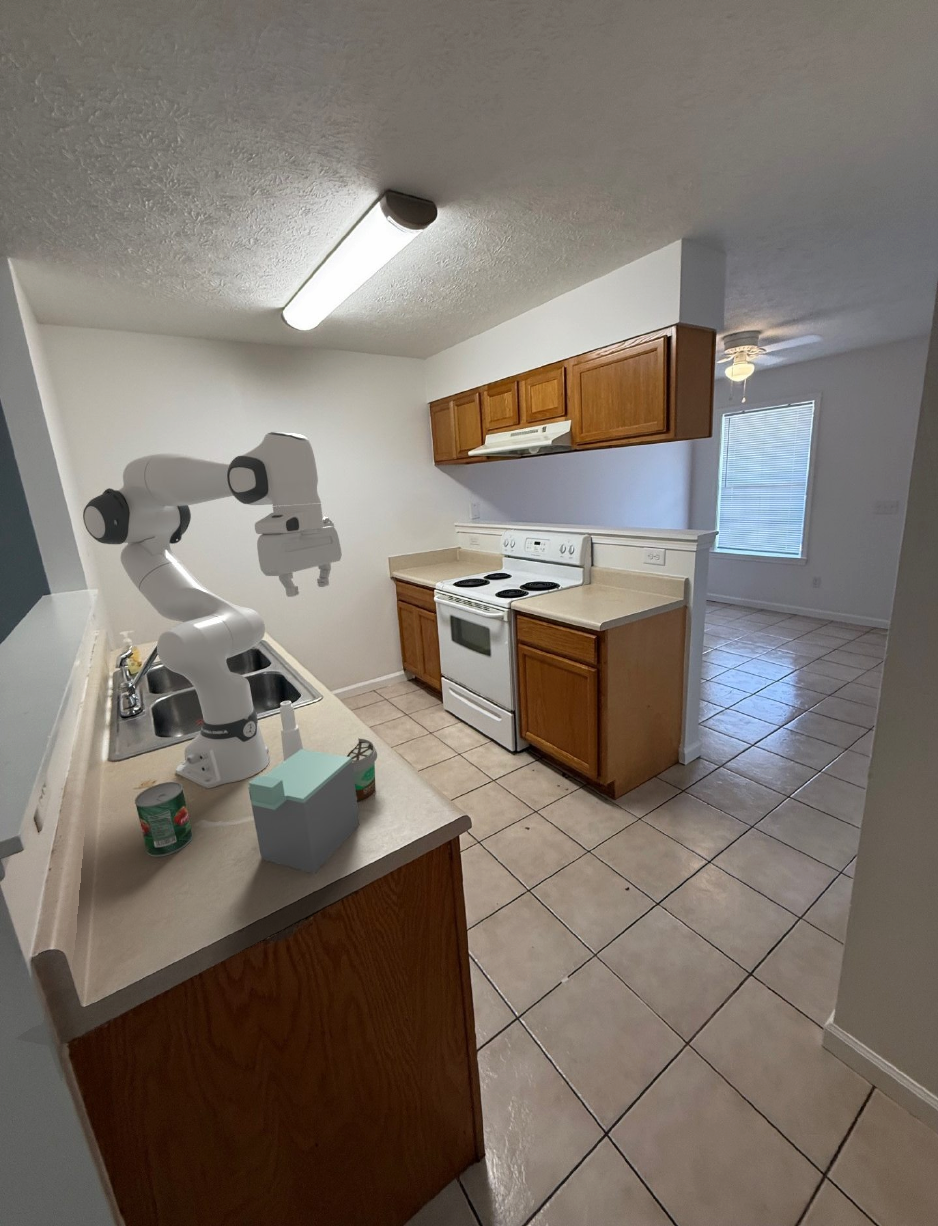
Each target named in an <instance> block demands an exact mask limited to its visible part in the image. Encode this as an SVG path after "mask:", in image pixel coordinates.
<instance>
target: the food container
mask: <svg viewBox="0 0 938 1226" xmlns="http://www.w3.org/2000/svg"><path fill="white" fill-rule="evenodd" d="M346 757H351V759H352V767H353V775H354V783H355V791H356V799H357V804H358V803H361V802H364V801H366V800H367V799H369V798H371V797H372V796H373V795H374V794H375V792H376V767H375V763H376V761H377V758H378V753H377V749H376V746H375V745H374V743H373V742H372V741H370V740H368V739H365V738H358V743H357V744H356V745H355V746H354V748H352V749H351V750H350V751H349V752H348V753H347V755H346Z"/></svg>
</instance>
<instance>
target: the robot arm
mask: <svg viewBox="0 0 938 1226" xmlns="http://www.w3.org/2000/svg"><path fill="white" fill-rule="evenodd" d="M318 477H319V476H318V469H317V463H316V459H315V454H314V450H313V447H312V444H311V442H310V440H309V438H307V437H306V436H304V435H302V434H299V433H298V434H297V433H290V432H289V433H288V432H287V433H286V432H282V431H281V432H280V431H271V432H267V433H266V434H265V435H264V438H263V440H262V442H261V443H259V445H257V446H256V447H255V448H253V449H251V450H250V451H248V452H246V453H245V454H242V455H238V456H235V457H234V458H233V459H232V460H231V462H230V463H227V462H221V461H215V460H212V459H206V458H201V457H196V456H191V455H187V454H180V453H179V454H178V453H156V454H154V453H153V454H150V455H146V456H145V455H144V456H142V457H139V458H137V459H134V460H132V461H130V462H129V463H128V464H127V465H126V466H125V468H124V470H123V474H122V481H123V486H122V487H121V488H120V489H118V490H116V489H113V488H106V489H105V490H104V491H103V492H102V494H100V495H98V496H96V497H93V498H92V499H90V500H89V501H88V502H87V504H86V505H85V507H84V509H83V515H82V516H83V517H82V519H83V523H84V526H85V529H86V531H87V532H88V534H89V535H90V536H91V537H92V538H93V539H94V540H95V541H97V542H98V543H101V544H104V545H122V544H126V545H125V546H124V547H123V549H122V551H121V553H120V558H119V559H120V562H121V565H122V567H123V569H124V570H125V572H126V574H127V576H128V578H129V579H130V581H132V583H133V585H134V586H135V587H136V588H137V589H138V591H139V592H140V593H141V594H142V596H143V597H145V599H146V600H147V602H149V604H150V605H151V606H152V607H153V608H154V609H155V610H156V612H157V613H158V614H159V615H160V616H162V617H163V618H165V619H168V620H171V621H178V622H181V623H179V624H176V625H174V626H173V627H171V628H169V629H167V630H165V631H164V632H162V634H160V636H159V637H158V640H157V644H156V653H157V656H158V658H159V661H160V663H162V665H163V667H165V668H167V669H168V670H169V671H171V672H173V673H176V674H179V675H181V676H183V677H185V678H186V679H187V680H188V681H189V682H190V684H191V685H192V686H193V687H194V689H195V692H196V695H197V698H198V701H199V705H200V709H201V714H202V717H203V718H201V719H199V720H196V721H195V723H197V724H196V726H197V727H198V726H200V725H201V727H200V732H199V734H197V735H196V736H195V737H194V738H193V739H192V740H191V741H190V742H189V743H187V745H186V746H185V748H184V760H183V761H182V762H180V764H178V765H177V767H176V769H175V774H177V775H179V776H180V777H183V778H184V779H188V780H189V781H191V782H194V783H196V784H198V785H200V786H202V787H204V788H206V789H211V788H214V787H218V786H221V785H224V784H227V783H234V782H238V781H242V780H245V779H249V778H250V777H252V776H254V775H256V774H258V773H260V772H261V771H263V770H264V769H265V768H266V767H267V766H268V764H269V763H270V757H269V754H268V752H269V747H268V745H266V744H265V742H264V741H265V740H264V737H263V734H262V732H261V731H262V730H261V728H260V725H259V721H258V713H257V711H256V708H255V707H254V704H253V697H252V693H251V687H250V686H251V685H250V682H249V680H248V679H247V678H246V677H245V676H243V675H242V674H240V673H237V672H232V671H230V669H229V666H228V664H227V663H228V662H227V659H230V658H232V657H234V656H235V657H236V656H237V655H239V654H242V653H245V652H247V651H249V650H250V649H252V648H253V647H255V646H256V645H257V644H259V643H260V642H261V641H262V640H263V639H264V637H265V631H266V627H265V623H264V619H263V618H262V616H261V614H259V613H258V612H257V611H256V610H254V609H253V608H251V607H244V606H241V605H238V604H234V603H233V602H231V601H228V600H226V599H224V598H222V597H221V596H219V595H217V594H215V593H214V592H212V591H211V590H209V588H207V587H205V586H204V585H203V584H202V583H201V581H199V580H198V579H197V578H196V577H195V575H194V574H193V573H192V572H191V571H190V570H189V569H188V568H187V567H186V566H185V564H184V563H183V562H181V560H180V559H179V558H178V557H177V556H176V555H175V554H174V553H173V551H172V548H171V544H177V543H179V542H180V541H182V536H183V535H184V534H185V533H186V532H187V530H188V527H189V525H190V522H191V519H192V517H191V516H192V515H191V510H190V507H189V506H192V505H198V504H201V503H207V502H211V501H214V500H220V499H224V498H229V497H234V498H235V499H236V500H237V501H238V502H240V503H241V504H244V505H250V506H266V505H267V506H268V505H272V511H273V512H271V513H269V514H268V515H266V516H265V517H263V518H261V519H260V520H257V521H256V522H255V523H254V531H255V533H256V534H257V535H259V536H258V539H257V543H256V545H257V547H256V548H257V556H258V562H259V567H260V570H261V573H263V575H264V576H266V577H278V578H279V579H278V580H279V581H280V582H281V584H282V586H283V587H284V588H285V594H286V596H287V597H290V598H293V597H296V596H298V595H299V594H300V592H299V587H298V586H297V585H295V584H294V582H293V580H292V579H294V575H293V573H296V572H300V571H304V570H307V569H312V568H315V567H318V570H320V571H319V577H317V579H316V582H317V586H318V588H325V587H328V586H330V581H329V577H330V573H331V569H332V565H331V564H333V563H336V562H340V561H341V559H342V556H343V555H342V549H341V548H342V547H341V544H340V538H339V534H338V531H337V529H336V528H335V524H334V522H332V520H331V519H330V518H329V517H324V516H323V511H322V502H321V499H320V497H319V492H318V485H319V484H318V483H319V478H318Z"/></svg>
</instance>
